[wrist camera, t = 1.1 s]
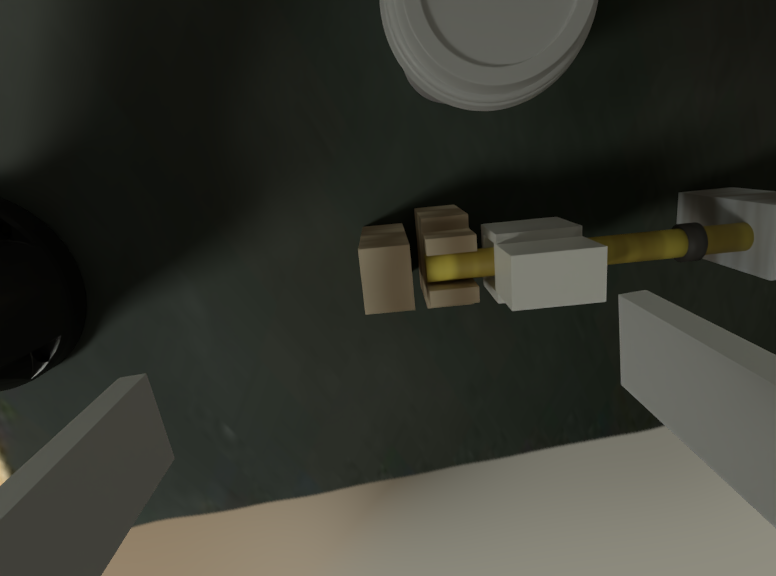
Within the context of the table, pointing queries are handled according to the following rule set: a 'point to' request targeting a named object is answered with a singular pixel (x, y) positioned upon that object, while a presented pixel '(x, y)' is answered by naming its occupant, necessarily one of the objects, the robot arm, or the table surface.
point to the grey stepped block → (544, 264)
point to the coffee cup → (485, 47)
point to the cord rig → (683, 242)
